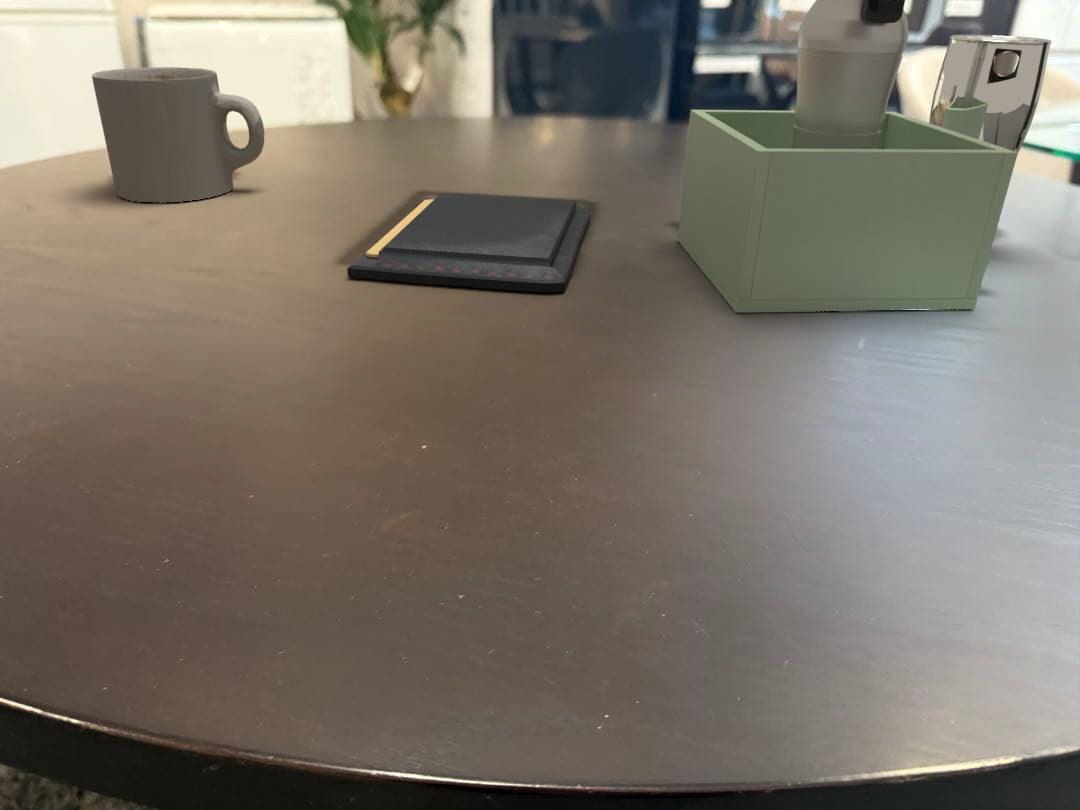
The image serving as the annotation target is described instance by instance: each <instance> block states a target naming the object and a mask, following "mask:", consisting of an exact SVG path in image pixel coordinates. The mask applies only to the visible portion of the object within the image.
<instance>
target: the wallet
mask: <svg viewBox="0 0 1080 810" xmlns="http://www.w3.org/2000/svg"><path fill="white" fill-rule="evenodd" d="M590 223H591V210H590V209H589V208H586V207H584V206H582V205H581V204H580V203H578V202H577V201H575V200H574V199H563V198H562V199H561V198H549V197H548V198H547V197H533V196H532V197H529V196H512V195H494V194H479V193H477V194H476V193H460V192H459V193H458V192H453V193H449V192H447V193H446V192H445V193H444V192H441V193H440V194H439V195H437V196H436V197H435V198H433V197H431V198H430V197H424V198H423V199H422V200H421V201H418V202H417V204H416V205H415V206H414V207H413V208H412V209H411V210H410V211H409V212H408V213H406V214H405V215H404V216H403V217H402V218H401V219H400V220H398V222H397V223H396V224H394V225H393V226H392V227H391V228H390V229H389V230H387V231H386V232H385V233H384V234H383V235H382V236H381V237H380V238H379V239H377V240H376V241H375V242H374V243H373V244H372V245H371V246H370V247H369V248H367V250H366V251H364V252H363V253H362V254H361V255H360V256H359V257H357V259H355V260H354V261H353V262H352V263H351V264H350V265H349V266H348V267H347V268H346V271H347V278H350V279H359V280H360V279H362V280H375V281H384V282H385V281H386V282H394V283H404V284H405V283H406V284H419V285H431V286H432V285H433V286H445V287H455V288H456V287H458V288H468V289H469V288H470V289H471V288H473V289H484V290H496V291H497V290H498V291H511V292H523V293H524V292H526V293H542V294H550V293H561V292H565V290H566V289H567V286H568V284H569V282H570V279H571V277H572V274H573V270H574V267H575V263H576V260H577V257H578V253H579V250H580V247H581V245H582V242H583V239H584V238H585V235H586V232H587V231H588V228H589V225H590Z"/></svg>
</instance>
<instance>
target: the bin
mask: <svg viewBox="0 0 1080 810" xmlns="http://www.w3.org/2000/svg"><path fill="white" fill-rule="evenodd" d="M795 122H796V118H795V110H768V109H767V110H760V109H759V110H758V109H757V110H755V109H752V110H751V109H749V110H748V109H690V112H689V122H688V132H687V141H686V153H685V162H684V170H683V171H684V173H683V181H682V182H683V183H682V191H681V200H680V201H681V202H680V211H679V212H680V213H679V223H678V232H677V242H678V243H679V244H680V245H681V246H682V248H683V250H684V251H685V252H686V253H687V254H688V255H689V256H690V258H691V259H692V260H693V262H694V263H695V264H696V266H698V268H699V269H700V270H701V271H702V272H703V274H704V275H705V276H706V278H707V279H708V280H709V282H710V283H711V284H712V285H713V286H714V287H715V289H716V290H717V292H718V293H719V294H720V295H721V296H722V298H723V299H724V300H725V301H726V303H727V304H728V305H729V307H731V309H732V310H733V311H734V312H735V313H736V314H739V313H742V314H743V313H744V314H745V313H746V314H749V313H750V314H751V313H823V312H824V311H827V313H828V311H839V312H866V311H865V310H892V309H893V310H902V309H903V310H905V309H907V310H908V309H917V310H918V309H932V310H931V311H934V310H933V309H937V310H936V311H945V310H944V309H948V310H947V311H963V310H962V309H966V310H965V311H974V310H975V309H976V305H977V302H978V297H979V295H980V294H979V293H980V290H981V286H982V283H983V279H984V275H985V272H986V268H987V265H988V262H989V257H990V254H991V250H992V247H993V244H994V241H995V236H996V233H997V230H998V227H999V226H998V225H999V222H1000V218H1001V214H1002V213H1003V207H1004V204H1005V201H1006V197H1007V195H1008V190H1009V186H1010V184H1011V180H1012V175H1013V172H1014V168H1015V165H1016V161H1017V158H1018V155H1019V153H1017V152H1015V151H1012V150H1009V149H1006V148H1003V147H1000V146H997V145H994V144H991V143H988V142H985V141H982V140H979V139H976V138H973V137H969V136H966V135H963V134H960V133H957V132H954V131H951V130H948V129H945V128H942V127H939V126H936V125H933V124H930V123H929V122H927V121H925V120H921V119H918V118H915V117H911V116H909V115H906V114H903V113H901V112H900V113H899V112H897V111H886V112H885V116H884V120H883V123H882V124H881V127H880V131H881V133H880V137H879V141H878V145H877V149H791V144H792V140H793V130H794V125H795ZM1017 154H1018V155H1017ZM939 309H941V310H939ZM942 309H943V310H942ZM950 309H952V310H950ZM953 309H955V310H953ZM956 309H957V310H956ZM959 309H961V310H959ZM967 309H969V310H967ZM970 309H971V310H970ZM973 309H974V310H973ZM858 310H860V311H858ZM862 310H864V311H862ZM816 311H817V312H816ZM820 311H822V312H820ZM824 313H825V312H824Z"/></svg>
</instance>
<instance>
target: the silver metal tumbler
mask: <svg viewBox="0 0 1080 810" xmlns="http://www.w3.org/2000/svg"><path fill="white" fill-rule="evenodd" d="M1052 43H1053V42H1052V40H1051V39H1047V38H1039V37H1029V36H1015V35H998V34H997V35H996V34H995V35H994V34H953V35H951V36H950V37H949V42H948V45H947V48H946V52H945V55H944V58H943V60H942V65H941V67H940V71H939V75H938V77H937V81H936V84H935V89H934V93H933V97H932V103H931V107H930V113H929V119H928V120H929V121H928V123H930V124H933V125H936V126H939V127H942V128H945V129H948V130H951V131H954V132H957V133H960V134H963V135H966V136H969V137H973V138H976V139H979V140H982V141H985V142H988V143H991V144H994V145H997V146H1000V147H1003V148H1006V149H1009V150H1012V151H1015V152H1017V153H1018V154H1017V156H1018V155H1019V153H1020V151H1021V149H1022V146H1023V144H1024V142H1025V140H1026V137H1027V135H1028V133H1029V130H1030V128H1031V125H1032V123H1033V120H1034V117H1035V114H1036V110H1037V107H1038V104H1039V99H1040V96H1041V91H1042V88H1043V83H1044V80H1045V74H1046V69H1047V63H1048V58H1049V53H1050V48H1051V44H1052Z"/></svg>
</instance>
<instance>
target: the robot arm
mask: <svg viewBox="0 0 1080 810" xmlns="http://www.w3.org/2000/svg"><path fill="white" fill-rule="evenodd" d="M905 3H906V0H863V4H862V10H861V18H862V19H863V20H864V21H866V22H871V23H895V22H897V21H899V20H900V18H901V16H902V13H903V9H904V8H905Z"/></svg>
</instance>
